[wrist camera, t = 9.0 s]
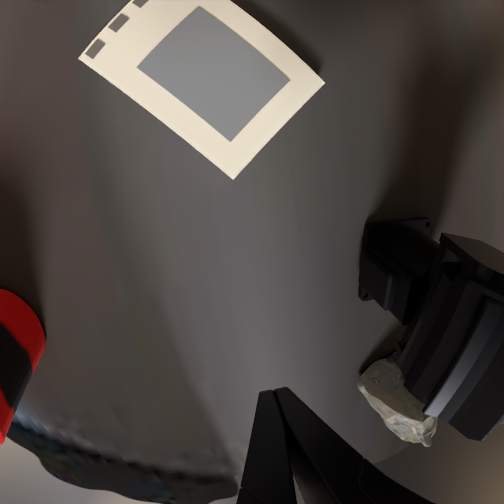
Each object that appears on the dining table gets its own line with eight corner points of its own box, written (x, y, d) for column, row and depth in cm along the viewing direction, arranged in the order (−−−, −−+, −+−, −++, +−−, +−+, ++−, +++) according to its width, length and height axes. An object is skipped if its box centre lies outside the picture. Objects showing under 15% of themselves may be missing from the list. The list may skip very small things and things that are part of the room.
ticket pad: (315, 85, 17) (325, 82, 15) (230, 175, 18) (233, 180, 17) (174, -26, 12) (172, -37, 11) (86, 62, 14) (76, 57, 12)
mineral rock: (404, 408, 34) (437, 460, 25) (334, 429, 32) (362, 493, 23) (438, 336, 29) (489, 393, 19) (358, 356, 27) (407, 434, 18)
